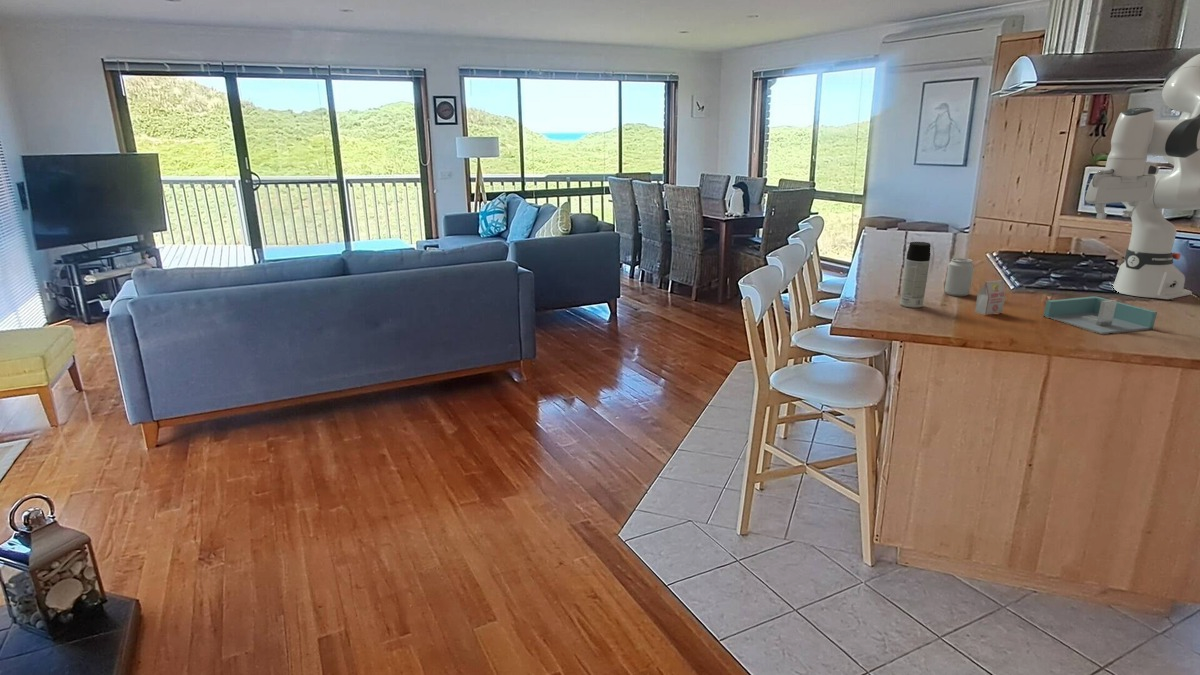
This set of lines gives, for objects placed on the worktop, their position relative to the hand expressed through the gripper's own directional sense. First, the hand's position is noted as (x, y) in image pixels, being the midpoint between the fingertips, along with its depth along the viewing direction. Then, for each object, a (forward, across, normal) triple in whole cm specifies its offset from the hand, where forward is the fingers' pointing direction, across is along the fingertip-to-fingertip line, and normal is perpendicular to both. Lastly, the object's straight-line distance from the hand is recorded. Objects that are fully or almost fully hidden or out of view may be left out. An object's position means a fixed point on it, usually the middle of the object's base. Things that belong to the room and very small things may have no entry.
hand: (1113, 218), depth 188 cm
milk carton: (+28, -30, +8) cm, 42 cm away
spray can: (+28, -46, +22) cm, 58 cm away
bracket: (+28, -11, -11) cm, 32 cm away
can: (+28, -22, +30) cm, 47 cm away
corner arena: (+28, -9, -9) cm, 31 cm away
